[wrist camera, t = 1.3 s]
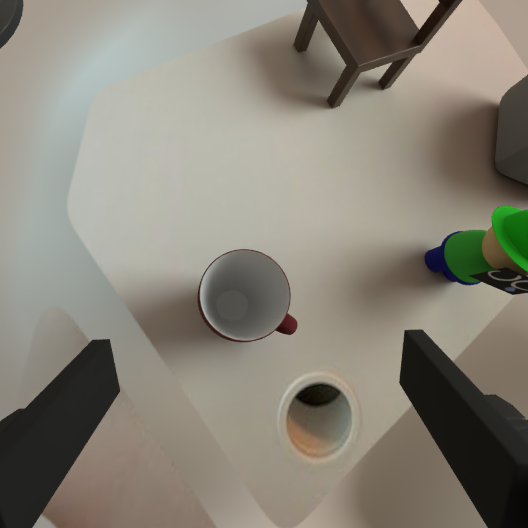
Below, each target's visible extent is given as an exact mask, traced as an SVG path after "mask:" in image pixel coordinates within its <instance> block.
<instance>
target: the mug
mask: <svg viewBox="0 0 528 528" xmlns="http://www.w3.org/2000/svg"><path fill="white" fill-rule="evenodd" d="M198 306H199V310H200V313H201V316H202V318H203V320H204V321H205V323H206V324H207V326H208V327H209V328H210V329H211V330H212V331H213V332H214V333H216V334H217V335H219V336H221V337H222V338H225V339H227V340H230V341H235V342H251V341H256V340H259V339H262V338H264V337H266V336H268V335H270V334H271V333H273V332H274V331H275V330H276V331H278V332H280V333H283V334H287V335H291V334H293V333H294V332H295V331H296V329H297V321H296V320H295V318H293V317H292V316H291V315H289V314H287V312H288V310H289V306H290V287H289V283H288V280H287V277H286V275H285V273H284V272H283V270H282V269H281V267H280V266H279V265H278V264H277V263H276V262H275V261H274V260H273V259H271V258H270V257H269V256H267V255H265V254H263V253H261V252H258V251H254V250H248V249H240V250H234V251H230V252H227V253H225V254H223V255H221V256H220V257H218V258H217V259H215V260H214V261H213V262H212V263H211V264H210V265H209V267H208V268H207V269H206V271H205V272H204V274H203V276H202V279H201V282H200V285H199V290H198Z"/></svg>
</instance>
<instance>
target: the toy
mask: <svg viewBox="0 0 528 528" xmlns="http://www.w3.org/2000/svg"><path fill="white" fill-rule="evenodd" d="M425 263H426V265H427V267H428V268H429V269H430V270H431V271H433V272H441V271H443V273H444V275H445V277H446V278H447V279H449V280H450V281H456V282H458V283H460V284H463V285H475V284H478V283H480V282H484V283H486V284H488V285H491V286H493V287H495V288H498V289H500V290H503V291H505V292H507V293H510V294H512V295H514V294H522V293H528V277H527V276H528V210H523V211H522V210H520V209H518V208H515V207H511V206H501V207H498V208H497V209H496V210H495V211H494V212H493V215H492V227H491V228H490V229H489V230H488V231H484V230H469V231H458V232H455V233H452V234H450V235H448V236H447V237H446V238H445V239H444V241H443V242H442V245H441V246H440V247H437V248H434V249H432V250H429V251H428V252H427V253H426V255H425Z"/></svg>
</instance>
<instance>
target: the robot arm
mask: <svg viewBox="0 0 528 528" xmlns="http://www.w3.org/2000/svg"><path fill="white" fill-rule="evenodd" d="M399 383H400V385H401V387H402V388H403V390H404V391H405V393H406V395H407V396H408V398H409V400H410V401H411V403H412V405H413V406H414V408H415V409H416V411H417V413H418V414H419V416H420V418H421V419H422V421H423V422H424V424H425V426H426V427H427V429H428V431H429V432H430V434H431V436H432V437H433V439H434V440H435V442H436V444H437V445H438V447H439V449H440V450H441V452H442V454H443V455H444V457H445V458H446V460H447V462H448V463H449V465H450V467H451V468H452V470H453V472H454V473H455V475H456V476H457V478H458V480H459V481H460V483H461V484H462V486H463V488H464V490H465V491H466V493H467V494H468V496H469V498H470V499H471V501H472V502H473V504H474V506H475V508H476V509H477V511H478V512H479V514H480V516H481V517H482V519H483V521H484V522H485V524H486V525H487V527H488V528H528V420H526V419H525V417H524V416H523V415H522V414H521V413H520V412H519V411H518V410H517V409H516V408H515V407H514V406H513V405H511V404H509V403H508V402H506V401H505V400H503V399H502V398H500V397H498V396H497V395H484V394H483V393H482V392H481V391H480V390H479V389H478V388H477V387H476V386H475V385H474V384H473V383H472V382H471V381H470V380H469V378H468V377H466V375H465V374H464V373H463V372H462V371H461V370H460V369H459V368H458V367H457V366H456V365H455V364H454V363H453V362H452V360H451V359H450V358H449V357H448V356H447V355H446V354H445V353H444V352H443V351H442V350H441V349H440V348H439V347H438V346H437V345H436V344H435V343H434V342H433V340H432V339H431V338H430V337H429V336H428V335H427V334H426V333H425V332H424V331H423V330H405V332H404V342H403V352H402V362H401V371H400V381H399ZM119 392H120V388H119V383H118V379H117V373H116V368H115V363H114V358H113V353H112V348H111V344H110V339H105V340H104V339H103V340H92V341H91V342H90V343H89V344H88V345H87V346H86V347H85V348H84V349H83V350H82V351H81V352H80V353H79V354H78V355H77V356H76V357H75V358H74V359H73V360H72V361H71V362H70V363H69V364H68V365H67V366H66V367H65V368H64V369H63V370H62V372H61V373H60V374H59V375H58V376H57V377H56V378H55V379H54V380H53V381H52V382H51V383H50V384H49V385H48V386H47V387H46V388H45V389H44V390H43V391H42V392H41V393H40V394H39V395H38V396H37V397H36V398H35V399H34V400H33V401H32V402H31V403H30V404H29V405H28V406H27V407H26V408H25V409H18V410H16V411H15V412H13V413H12V414H10V415H9V416H7V417H6V418H4V419H3V420H1V421H0V528H32V527H33V526H34V524H35V523H36V521H37V519H38V518H39V516H40V515H41V513H42V512H43V510H44V509H45V507H46V506H47V504H48V502H49V501H50V499H51V498H52V496H53V495H54V493H55V492H56V490H57V488H58V487H59V485H60V484H61V482H62V481H63V479H64V478H65V476H66V474H67V473H68V471H69V470H70V468H71V467H72V465H73V464H74V462H75V460H76V459H77V457H78V456H79V454H80V453H81V451H82V450H83V448H84V446H85V445H86V443H87V442H88V440H89V439H90V437H91V435H92V434H93V432H94V431H95V429H96V428H97V426H98V425H99V423H100V421H101V420H102V418H103V417H104V415H105V414H106V412H107V411H108V409H109V407H110V406H111V404H112V403H113V401H114V400H115V398H116V397H117V395H118V393H119Z"/></svg>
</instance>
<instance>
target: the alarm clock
mask: <svg viewBox="0 0 528 528" xmlns="http://www.w3.org/2000/svg"><path fill="white" fill-rule="evenodd" d="M495 166H496V169H497V170H498V171H499V172H500V173H501V174H503V175H506V176H508V177H510V178H513V179H515V180H517V181H520V182H522V183H524V184H527V185H528V75H527V76H526V77H524V78H523V79H522V80H520V81H519V82H518V83H517V84H515V85H514V86H513V87H511V88H510V89H509V90H508V91H507V92H506V93H505V94H504V96H503V97H502V99H501V101H500V106H499V118H498V130H497V142H496V153H495Z"/></svg>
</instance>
